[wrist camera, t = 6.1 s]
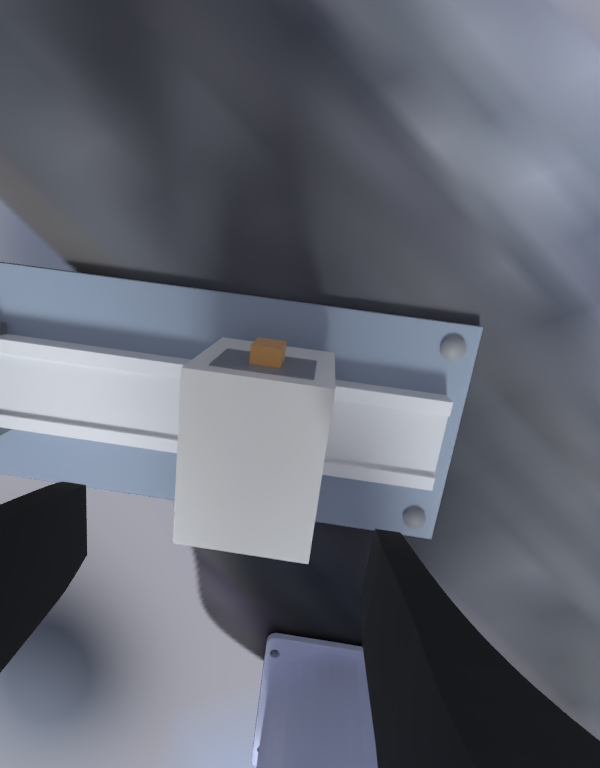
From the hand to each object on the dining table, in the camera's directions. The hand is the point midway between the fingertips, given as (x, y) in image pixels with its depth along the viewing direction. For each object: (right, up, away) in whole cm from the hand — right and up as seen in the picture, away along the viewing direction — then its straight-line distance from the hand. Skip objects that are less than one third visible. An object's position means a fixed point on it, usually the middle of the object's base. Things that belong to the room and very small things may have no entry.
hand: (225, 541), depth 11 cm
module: (+1, +3, +7) cm, 8 cm away
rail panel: (-3, +3, +9) cm, 10 cm away
